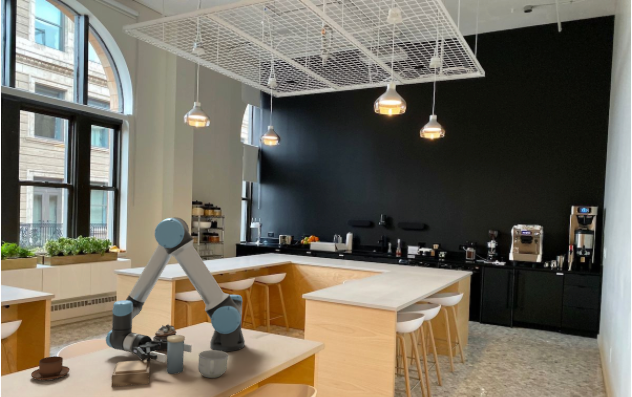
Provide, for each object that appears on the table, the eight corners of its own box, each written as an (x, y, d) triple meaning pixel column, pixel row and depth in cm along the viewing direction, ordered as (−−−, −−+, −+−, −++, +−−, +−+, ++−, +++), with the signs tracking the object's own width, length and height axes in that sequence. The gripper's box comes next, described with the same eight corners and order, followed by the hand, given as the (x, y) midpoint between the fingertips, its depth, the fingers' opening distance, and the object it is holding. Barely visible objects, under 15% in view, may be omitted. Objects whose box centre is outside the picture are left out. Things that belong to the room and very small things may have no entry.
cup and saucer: (22, 379, 162) (23, 362, 162) (53, 368, 173) (54, 352, 173) (47, 385, 158) (47, 367, 158) (76, 374, 169) (77, 357, 169)
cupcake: (164, 343, 208) (165, 321, 208) (180, 347, 203) (181, 324, 203) (147, 349, 199) (148, 326, 199) (164, 353, 195) (165, 329, 195)
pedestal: (149, 371, 173) (150, 358, 173) (148, 383, 162) (149, 370, 162) (115, 374, 169) (115, 361, 169) (111, 386, 158) (111, 372, 158)
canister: (183, 367, 179) (184, 334, 179) (183, 373, 173) (185, 339, 173) (166, 368, 177) (167, 335, 177) (165, 374, 171) (167, 340, 171)
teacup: (202, 369, 177) (203, 348, 177) (230, 370, 177) (231, 349, 177) (191, 383, 163) (192, 360, 164) (221, 384, 163) (222, 362, 163)
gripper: (161, 345, 195) (200, 354, 185) (111, 362, 173) (152, 373, 163) (162, 327, 195) (201, 335, 185) (112, 342, 173) (153, 352, 163)
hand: (178, 353), depth 174 cm, fingers open, 13 cm apart
